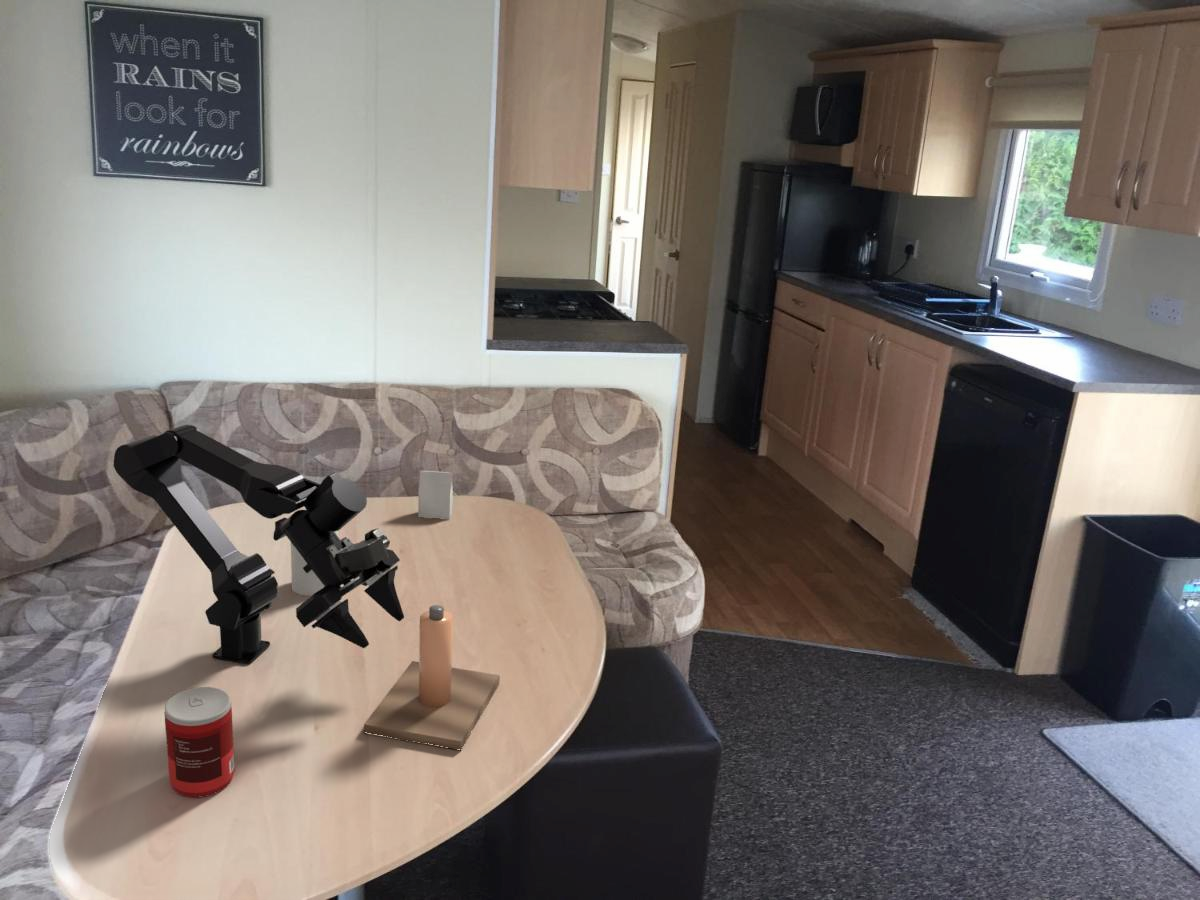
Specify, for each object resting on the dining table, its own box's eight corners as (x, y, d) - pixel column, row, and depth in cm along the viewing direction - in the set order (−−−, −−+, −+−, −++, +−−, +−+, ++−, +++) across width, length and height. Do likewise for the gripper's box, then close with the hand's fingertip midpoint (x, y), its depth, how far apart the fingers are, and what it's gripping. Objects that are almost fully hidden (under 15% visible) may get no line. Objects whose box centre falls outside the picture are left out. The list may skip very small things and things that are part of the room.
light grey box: (449, 519, 214) (450, 475, 211) (418, 517, 214) (418, 473, 211) (452, 513, 217) (453, 470, 214) (421, 511, 217) (421, 468, 214)
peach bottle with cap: (434, 710, 141) (436, 619, 137) (411, 698, 143) (413, 608, 139) (457, 697, 144) (459, 608, 140) (434, 686, 147) (436, 598, 143)
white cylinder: (345, 579, 183) (344, 518, 179) (329, 598, 175) (328, 535, 171) (302, 574, 183) (300, 513, 180) (284, 593, 176) (282, 530, 172)
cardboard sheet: (461, 750, 135) (461, 741, 134) (363, 733, 137) (363, 724, 137) (499, 683, 152) (499, 675, 151) (412, 669, 154) (412, 660, 153)
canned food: (213, 753, 131) (209, 679, 127) (247, 779, 126) (244, 703, 123) (157, 778, 125) (151, 702, 122) (190, 807, 120) (185, 728, 117)
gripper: (312, 540, 132) (383, 634, 132) (389, 498, 149) (452, 581, 149) (265, 581, 137) (333, 671, 137) (345, 536, 154) (405, 616, 154)
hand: (384, 632), depth 144 cm, fingers open, 9 cm apart
